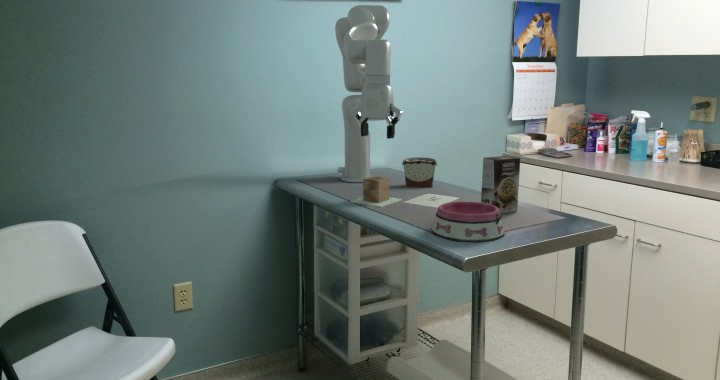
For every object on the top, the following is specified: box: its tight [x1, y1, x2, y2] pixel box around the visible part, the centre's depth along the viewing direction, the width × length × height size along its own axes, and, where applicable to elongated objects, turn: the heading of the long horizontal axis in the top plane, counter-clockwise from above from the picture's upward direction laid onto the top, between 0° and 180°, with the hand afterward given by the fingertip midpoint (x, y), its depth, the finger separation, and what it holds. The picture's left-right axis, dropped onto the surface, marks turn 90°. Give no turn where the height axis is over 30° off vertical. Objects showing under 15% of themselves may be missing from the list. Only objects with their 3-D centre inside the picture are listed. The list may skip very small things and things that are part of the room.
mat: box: [349, 196, 403, 208], centre depth 186 cm, size 12×12×1 cm
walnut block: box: [362, 175, 390, 203], centre depth 185 cm, size 6×6×7 cm
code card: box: [402, 192, 460, 209], centre depth 187 cm, size 12×16×1 cm
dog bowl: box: [431, 201, 505, 243], centre depth 151 cm, size 18×19×7 cm
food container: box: [401, 156, 438, 188], centre depth 209 cm, size 12×6×10 cm, turn 84°
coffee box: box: [480, 155, 521, 215], centre depth 171 cm, size 9×6×16 cm
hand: (377, 137), depth 182 cm, fingers open, 9 cm apart
